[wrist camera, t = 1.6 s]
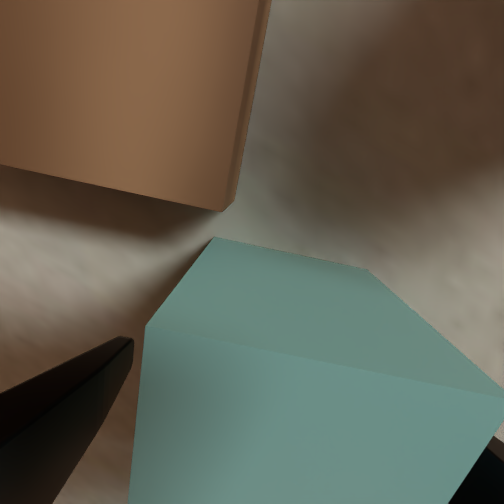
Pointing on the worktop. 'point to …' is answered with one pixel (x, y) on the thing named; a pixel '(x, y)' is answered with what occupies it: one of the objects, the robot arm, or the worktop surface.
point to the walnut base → (131, 92)
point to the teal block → (301, 390)
